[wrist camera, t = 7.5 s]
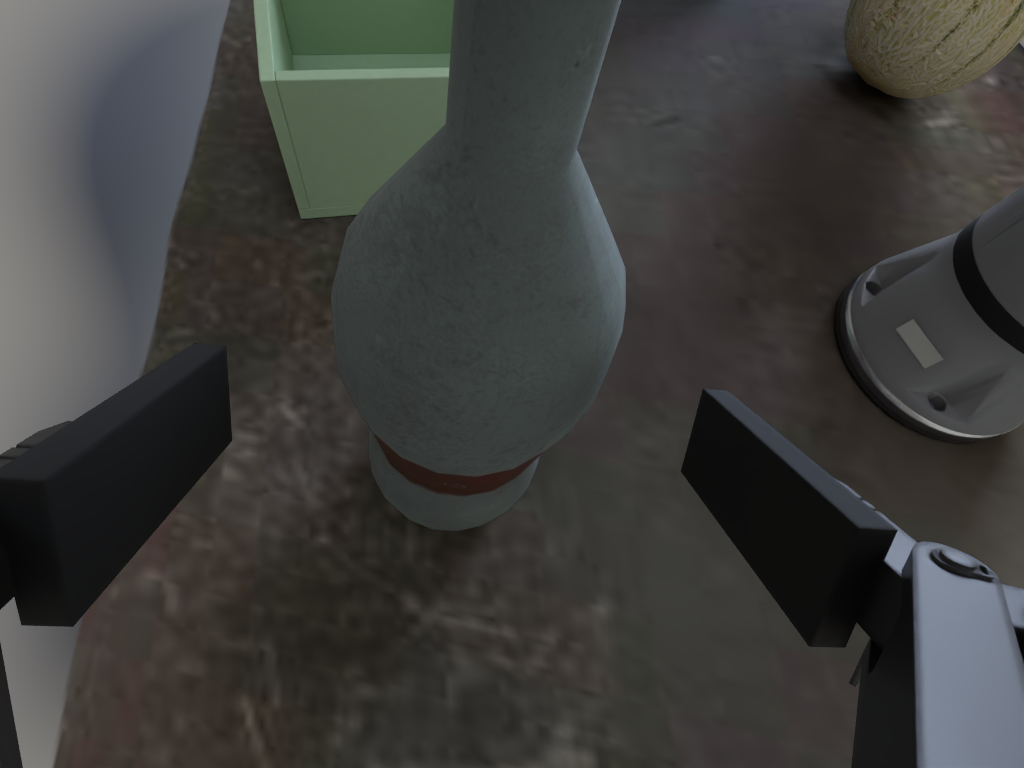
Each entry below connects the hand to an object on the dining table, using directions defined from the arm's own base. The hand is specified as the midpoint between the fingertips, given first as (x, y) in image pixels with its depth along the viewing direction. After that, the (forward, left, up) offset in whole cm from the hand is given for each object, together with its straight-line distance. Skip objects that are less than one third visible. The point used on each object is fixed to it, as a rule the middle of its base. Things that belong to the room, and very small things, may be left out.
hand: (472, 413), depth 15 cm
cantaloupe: (-52, -36, -19) cm, 66 cm away
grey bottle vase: (-1, -4, -19) cm, 19 cm away
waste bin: (-2, -32, -19) cm, 37 cm away
